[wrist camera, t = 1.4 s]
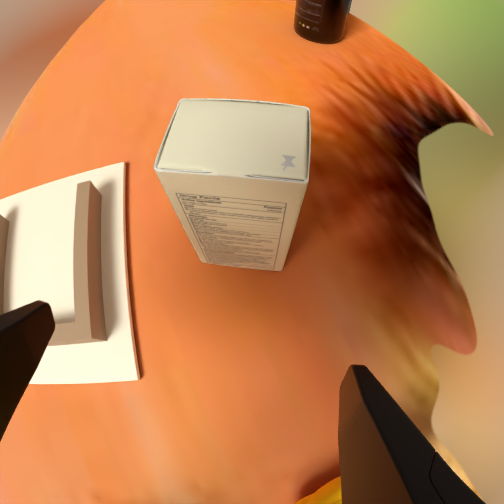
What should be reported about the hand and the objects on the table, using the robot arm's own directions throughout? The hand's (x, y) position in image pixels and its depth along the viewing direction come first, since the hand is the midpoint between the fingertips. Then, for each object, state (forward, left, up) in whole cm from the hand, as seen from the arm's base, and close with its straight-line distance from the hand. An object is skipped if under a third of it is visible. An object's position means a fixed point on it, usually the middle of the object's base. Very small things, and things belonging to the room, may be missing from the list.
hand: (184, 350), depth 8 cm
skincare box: (+8, -3, -14) cm, 16 cm away
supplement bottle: (+36, -18, -14) cm, 43 cm away
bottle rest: (+8, +14, -14) cm, 21 cm away
